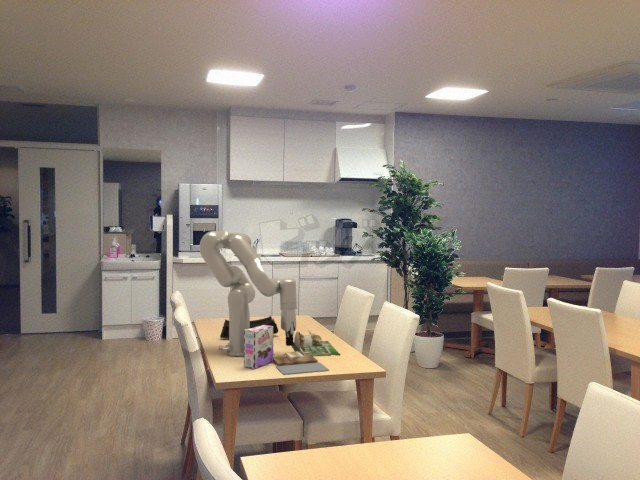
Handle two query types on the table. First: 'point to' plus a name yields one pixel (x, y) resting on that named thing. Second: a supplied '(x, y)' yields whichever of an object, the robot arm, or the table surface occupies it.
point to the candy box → (258, 346)
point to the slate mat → (301, 368)
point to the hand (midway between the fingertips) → (289, 345)
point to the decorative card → (312, 345)
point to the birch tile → (294, 356)
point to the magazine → (251, 326)
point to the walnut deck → (284, 361)
